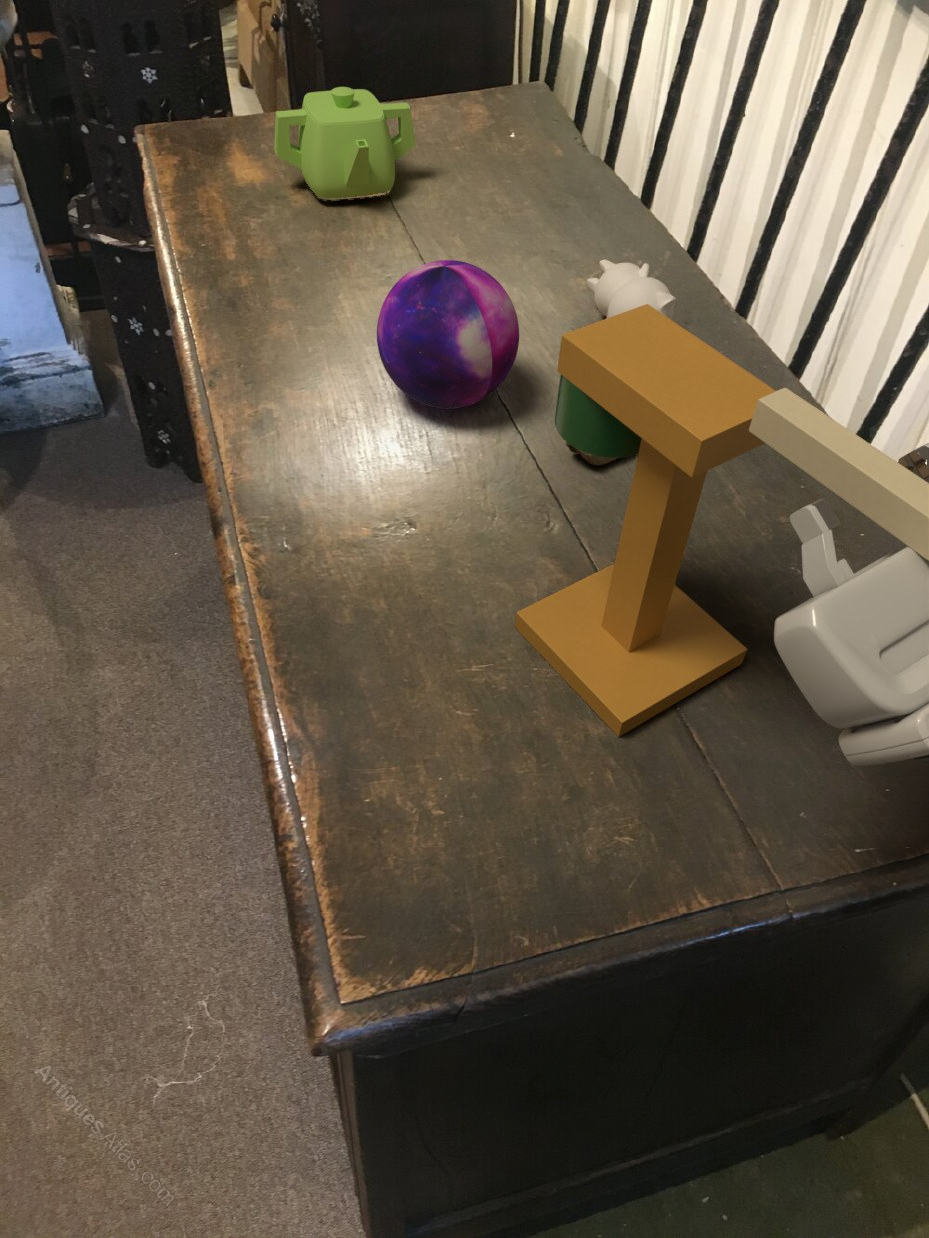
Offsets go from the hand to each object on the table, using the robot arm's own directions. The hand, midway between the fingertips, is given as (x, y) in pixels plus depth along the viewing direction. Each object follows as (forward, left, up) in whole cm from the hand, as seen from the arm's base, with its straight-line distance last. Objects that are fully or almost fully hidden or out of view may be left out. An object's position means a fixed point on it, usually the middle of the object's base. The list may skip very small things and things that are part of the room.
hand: (861, 477), depth 56 cm
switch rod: (0, 0, -1) cm, 1 cm away
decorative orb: (+47, -25, -28) cm, 60 cm away
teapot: (+87, -56, -28) cm, 108 cm away
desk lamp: (+15, -5, -28) cm, 32 cm away
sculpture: (+27, -30, -28) cm, 49 cm away
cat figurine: (+37, -50, -28) cm, 68 cm away
